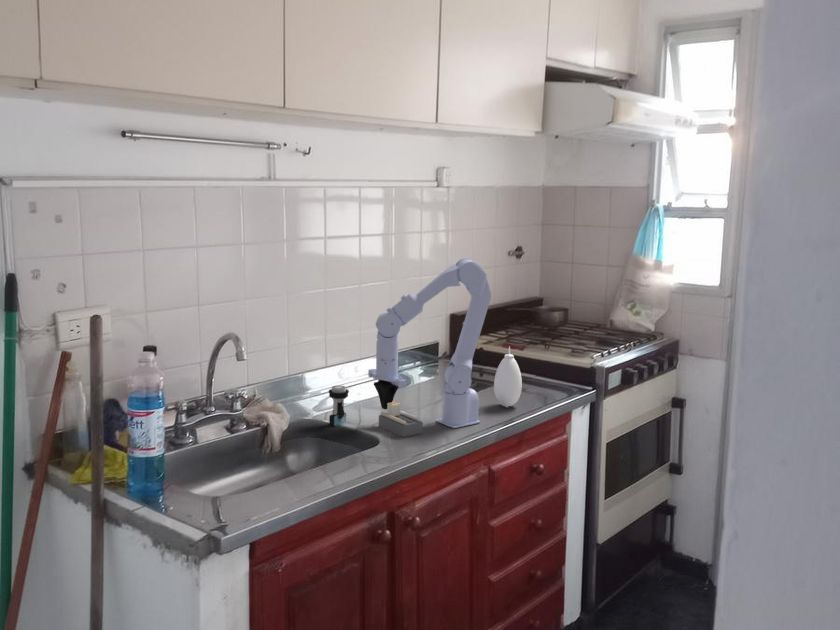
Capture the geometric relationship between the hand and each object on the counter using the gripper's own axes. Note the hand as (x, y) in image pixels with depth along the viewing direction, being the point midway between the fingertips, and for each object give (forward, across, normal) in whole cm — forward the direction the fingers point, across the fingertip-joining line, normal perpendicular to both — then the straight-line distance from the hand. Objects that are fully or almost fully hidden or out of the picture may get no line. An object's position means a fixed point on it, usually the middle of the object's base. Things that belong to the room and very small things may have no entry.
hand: (386, 408), depth 217 cm
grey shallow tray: (+4, +6, 0) cm, 8 cm away
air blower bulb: (+4, +6, +39) cm, 40 cm away
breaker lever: (+1, +3, 0) cm, 4 cm away
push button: (+4, -7, -10) cm, 13 cm away
